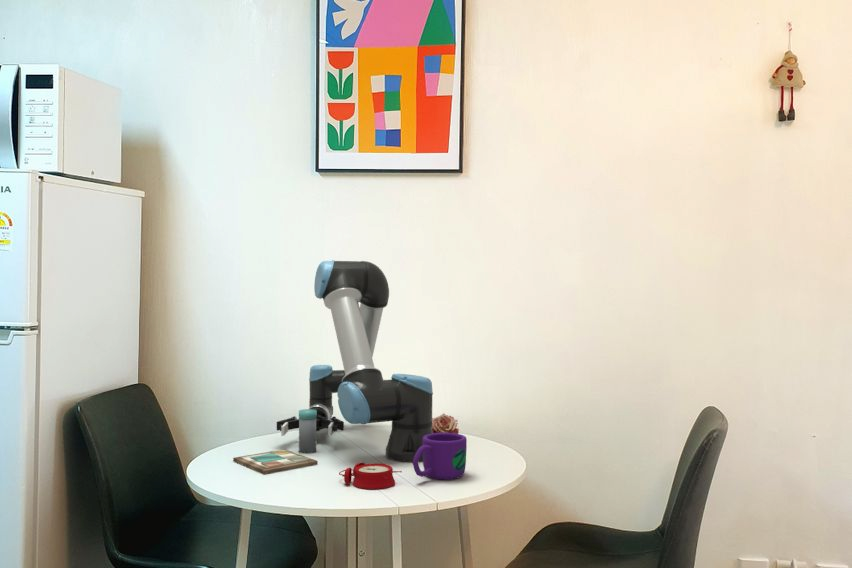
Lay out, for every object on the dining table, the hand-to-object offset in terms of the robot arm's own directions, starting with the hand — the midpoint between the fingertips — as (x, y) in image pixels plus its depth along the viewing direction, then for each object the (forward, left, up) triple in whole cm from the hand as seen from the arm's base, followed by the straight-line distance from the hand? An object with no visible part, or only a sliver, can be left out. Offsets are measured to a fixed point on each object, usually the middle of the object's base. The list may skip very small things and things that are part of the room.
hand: (306, 431), depth 206 cm
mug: (-44, -12, -7) cm, 46 cm away
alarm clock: (-37, +4, -7) cm, 37 cm away
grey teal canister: (+2, -2, -6) cm, 7 cm away
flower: (-14, -42, -7) cm, 45 cm away
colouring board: (-4, +12, -6) cm, 15 cm away
